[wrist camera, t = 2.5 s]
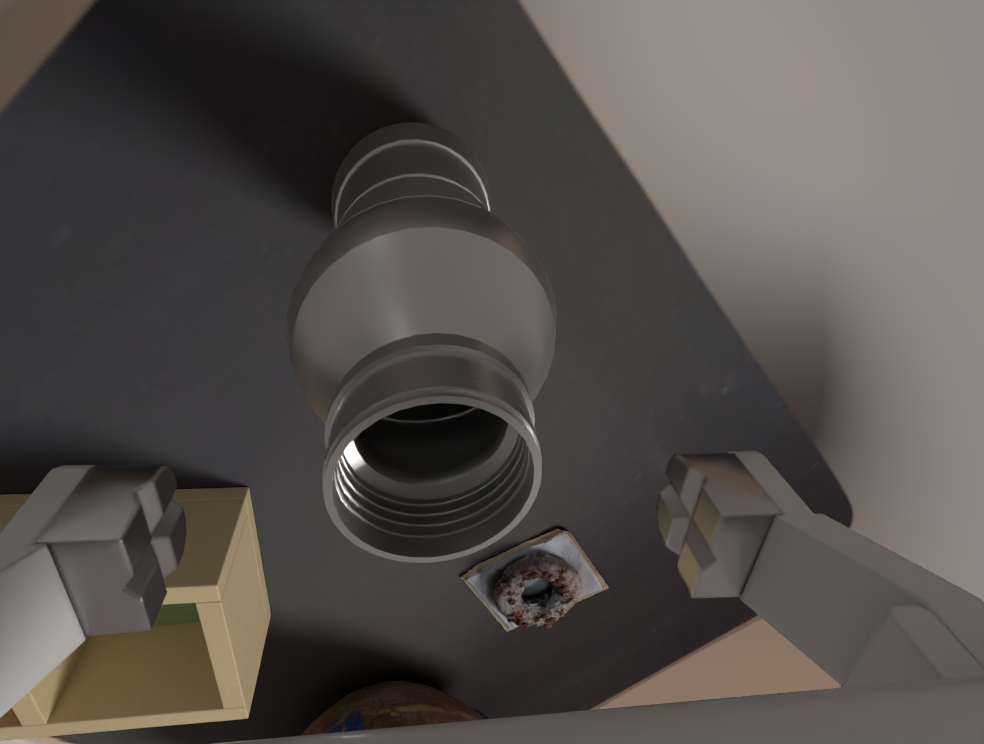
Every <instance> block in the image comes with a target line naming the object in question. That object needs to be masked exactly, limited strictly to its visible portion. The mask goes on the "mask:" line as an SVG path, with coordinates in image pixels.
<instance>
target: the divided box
mask: <svg viewBox="0 0 984 744" xmlns="http://www.w3.org/2000/svg"><path fill="white" fill-rule="evenodd" d="M30 495H31V494H6V495H0V532H1V531H2V530H3V528H4V527H5V526H6V525H7V523H8V522H9V521H10V520H11V519H12V517H13V516H14V515H15V514H16V512H17V511H18V510H19V509H20V507H21V506H22V505H23V504H24V503H25V501H26V500H27V499H28V498H29V496H30ZM172 499H173V500H175V501H176V502H177V503H178V504H180V505H181V506H182V507H183V509H184V513H185V518H186V531H187V535H186V541H185V547H184V553H183V555H182V558H181V560H180V563H179V565H178V568H177V569H176V570H174V571H173V572H172V573H171V574H169V575H168V576H167V577H165V578H164V583H165V586H166V590H167V594H166V596H165V599H164V601H163V603H162V606H161V608H160V610H159V613H158V615H157V617H156V620H155V622H154V624H153V627H152V629H151V631H144V632H132V633H120V634H109V635H97V636H86V637H85V638H86V640H85V641H84V642H83V643H82V644H81V645H80V646H79V647H78V648H76V649H75V650H74V651H73V652H72V653H71V654H70V655H69V656H68V657H67V658H65V659H64V660H63V661H62V662H61V663H60V664H59V665H58V666H57V667H56V668H55V669H53V670H52V671H51V672H50V673H49V674H48V675H47V676H46V677H45V678H44V679H43V680H41V681H40V682H39V683H38V684H37V685H36V686H35V687H34V688H33V689H32V690H30V691H29V692H28V693H27V694H26V695H25V696H24V697H23V698H22V699H21V700H20V701H18V702H17V703H16V704H15V705H14V706H13V707H12V708H11V709H10V710H9V711H7V712H6V713H5V714H4V715H3V716H2V717H1V718H0V740H12V739H23V738H34V737H46V736H57V735H68V734H79V733H91V732H102V731H113V730H125V729H136V728H147V727H158V726H170V725H181V724H192V723H204V722H215V721H226V720H238V719H247V718H248V717H249V713H250V708H251V704H252V699H253V694H254V690H255V685H256V681H257V676H258V672H259V667H260V662H261V658H262V653H263V649H264V644H265V639H266V635H267V630H268V626H269V622H270V617H271V612H270V606H269V601H268V595H267V589H266V583H265V578H264V572H263V566H262V560H261V554H260V549H259V543H258V537H257V531H256V525H255V520H254V514H253V508H252V502H251V497H250V491H249V487H236V488H203V489H176V490H175V492H174V494H173V496H172Z"/></svg>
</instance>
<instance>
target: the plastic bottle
mask: <svg viewBox="0 0 984 744" xmlns="http://www.w3.org/2000/svg"><path fill="white" fill-rule="evenodd" d="M331 207H332V215H333V222H334V229H335V230H334V231H333V232H332V233H331V234H330V235H329V236H328V237H327V238H326V240H325V241H324V242H323V243H322V244H321V245H320V247H319V248H318V249H317V250H316V251H315V253H314V254H313V256H312V258H311V259H310V261H309V263H308V264H307V266H306V268H305V269H304V271H303V273H302V275H301V277H300V279H299V281H298V283H297V284H296V286H295V288H294V291H293V295H292V299H291V302H290V306H289V310H288V314H287V343H288V348H289V353H290V359H291V363H292V366H293V369H294V373H295V376H296V379H297V381H298V383H299V386H300V388H301V390H302V393H303V395H304V397H305V399H306V401H307V402H308V403H309V405H310V406H311V407H312V409H313V410H314V412H315V413H316V414H317V416H318V417H319V418H320V419H321V420H322V421H324V422H325V423H326V427H325V445H326V456H325V461H324V467H323V478H322V485H323V494H324V500H325V505H326V509H327V511H328V513H329V515H330V517H331V519H332V521H333V523H334V524H335V525H336V527H337V528H338V529H339V530H340V532H341V533H342V534H343V535H344V536H345V537H347V538H348V539H349V540H350V541H352V542H353V543H354V544H355V545H357V546H358V547H360V548H362V549H364V550H366V551H368V552H370V553H372V554H375V555H378V556H381V557H384V558H387V559H391V560H397V561H404V562H422V563H430V562H437V561H445V560H451V559H454V558H458V557H462V556H466V555H469V554H471V553H474V552H476V551H478V550H481V549H483V548H485V547H487V546H489V545H490V544H492V543H494V542H496V541H497V540H499V539H501V538H502V537H503V536H505V535H506V534H507V533H508V532H509V531H511V530H512V529H513V528H514V527H515V526H516V525H517V524H518V523H519V522H520V521H521V520H522V518H523V517H524V516H525V515H526V514H527V513H528V511H529V509H530V507H531V506H532V504H533V502H534V500H535V499H536V496H537V493H538V490H539V487H540V483H541V473H542V464H541V462H542V457H541V452H540V446H539V441H538V438H537V435H536V432H535V429H534V423H535V416H534V410H533V405H532V401H533V400H534V398H535V397H536V396H537V395H538V393H539V391H540V389H541V387H542V385H543V383H544V381H545V379H546V377H547V375H548V372H549V369H550V365H551V362H552V359H553V355H554V346H555V334H556V320H557V311H556V304H555V297H554V291H553V288H552V286H551V283H550V280H549V278H548V275H547V272H546V270H545V268H544V266H543V265H542V263H541V262H540V260H539V259H538V257H537V256H536V255H535V253H534V252H533V250H532V249H531V248H530V247H529V245H528V244H527V243H526V242H525V241H524V240H523V239H522V238H521V237H520V236H519V235H518V234H517V233H516V232H515V231H514V230H513V229H512V228H511V227H510V226H509V225H508V224H507V223H506V222H504V221H503V220H501V219H500V218H498V217H497V216H495V215H494V214H492V213H491V197H490V190H489V184H488V179H487V176H486V174H485V171H484V169H483V167H482V164H481V163H480V161H479V160H478V158H477V157H476V155H475V154H474V152H473V151H472V150H471V149H470V148H469V147H468V146H467V145H466V144H465V143H464V142H463V141H462V140H461V139H460V138H458V137H457V136H455V135H453V134H452V133H450V132H449V131H447V130H445V129H442V128H439V127H437V126H434V125H431V124H424V123H418V122H408V123H397V124H393V125H390V126H386V127H382V128H380V129H378V130H376V131H374V132H372V133H370V134H369V135H367V136H366V137H365V138H363V139H362V140H361V141H360V142H358V143H357V144H356V145H355V146H354V147H353V148H352V149H351V151H350V152H349V153H348V154H347V155H346V157H345V158H344V160H343V162H342V163H341V165H340V167H339V169H338V171H337V173H336V177H335V180H334V184H333V187H332V199H331Z"/></svg>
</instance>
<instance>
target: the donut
mask: <svg viewBox="0 0 984 744" xmlns="http://www.w3.org/2000/svg"><path fill="white" fill-rule="evenodd" d="M461 579H463V580H464V582H465V583H466V584H467V585H468V587H470V589H471V590H472V591H473V593H475V595H476V596H477V597H478V598H479V600H481V602H483V604H484V605H485V606H486V607H487V609H488V610H489V611H490V612H491V614H492V615H493V616H494V617H495V619H496V620H497V621H498V622H499V623H500V624H501V625H502V627H503V628H504V629H505V630H506V631H509V630H512V629H514V628H516V627H518V626H519V627H521V628H525V629H526V626H541V625H543V626H544V627H547V628H550V627H552V623H553V622H554V623H556V621H558V618H559V617H560V616H564V614H565V613H566V612H568V610H569V609H570V608H572V607H573V606H574V604H575V603H576V602H579V601H581V600H582V599H585V598H587V597H590V596H592V595H594V594H596V593H599V592H601V591H602V592H603V591H604V590H606V589H608V588H609V587H608V586H607V585H606V583H605V582H604V580H603V579H602V577H601V576H600V574H598V571H597V570H596V569H595V567H594V566H593V565H592V563H591V561H590V560H589V559H588V557H587V555H586V554H585V552H584V551H583V550H582V548H581V547H580V546H579V544H578V543H577V542H576V540H575V538H574V537H573V536H572V535H571V533H570V532H568V531H567V532H566V531H561V530H560V529H556V530H554V531H551V532H549V533H547V534H544V535H543V536H542V535H541V536H539V537H538V538H535V539H532V540H531V541H526V542H525V543H523V544H521V545H519V546H516V547H514V548H512V549H510V550H508V551H506V552H503V553H502V554H500V555H497V556H495V557H493V558H490V559H488V560H487V561H483V562H482V563H480V564H477V565H476V566H475V567H474V568H473V569H472V570H469V571H468V573H466V574H464V575H463V576H461Z"/></svg>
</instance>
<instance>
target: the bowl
mask: <svg viewBox="0 0 984 744" xmlns="http://www.w3.org/2000/svg"><path fill="white" fill-rule="evenodd" d="M486 719H489V718H488V717H486V716H485V715H484V714H482V713H481V712H480V711H478V710H475V709H473V708H471V707H469V706H467V705H465V704H464V703H462V702H461V701H459V700H458V699H456V698H454V697H452V696H450V695H448V694H447V693H445V692H443V691H440V690H437V689H435V688H433V687H431V686H427V685H423V684H419V683H410V682H404V681H385V682H381V683H377V684H374V685H370V686H367V687H364V688H362V689H359V690H357V691H354V692H352V693H350V694H348V695H347V696H345V697H344V698H342V699H341V700H339V701H338V702H337V703H336V704H335V705H333V706H332V707H330V708H329V709H327V710H326V711H325V712H324V713H323V714H322V715H321V716H319V717H318V718H317V719H316V720H314V721H313V722H312V723H311V724H310V725H309V726H308V728H307V729H306V730H305V731H304V733H303V734H302V735H301V736H303V735H314V734H326V733H337V732H349V731H360V730H371V729H383V728H394V727H406V726H417V725H428V724H440V723H451V722H463V721H474V720H486Z"/></svg>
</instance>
